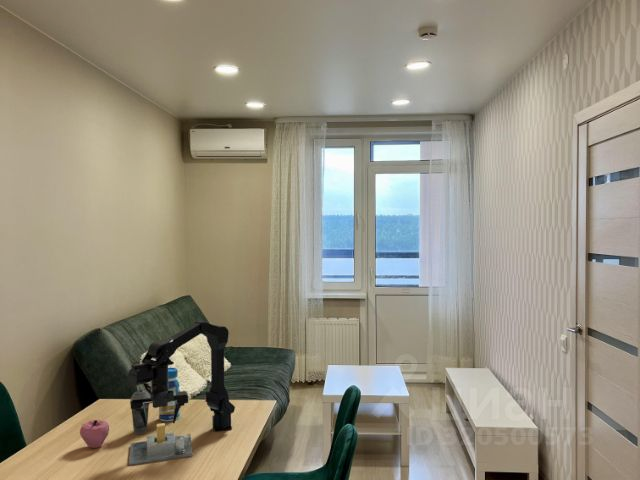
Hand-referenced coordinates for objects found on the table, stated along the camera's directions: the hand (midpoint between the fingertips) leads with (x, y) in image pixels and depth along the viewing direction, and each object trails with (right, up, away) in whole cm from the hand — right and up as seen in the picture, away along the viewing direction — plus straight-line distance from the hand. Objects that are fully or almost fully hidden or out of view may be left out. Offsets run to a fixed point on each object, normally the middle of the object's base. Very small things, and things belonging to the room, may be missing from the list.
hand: (160, 424), depth 172 cm
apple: (-24, -10, +4) cm, 27 cm away
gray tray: (0, -9, 0) cm, 9 cm away
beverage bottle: (-6, -9, +32) cm, 34 cm away
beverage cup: (-13, -10, +18) cm, 24 cm away
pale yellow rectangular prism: (0, -8, 0) cm, 8 cm away
